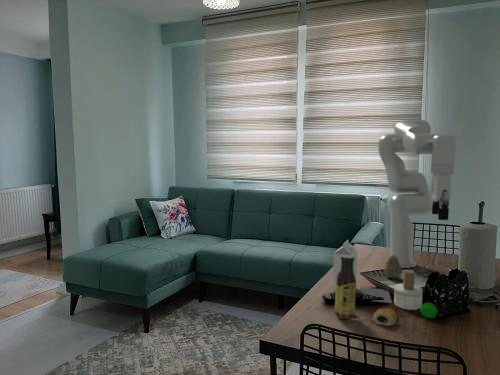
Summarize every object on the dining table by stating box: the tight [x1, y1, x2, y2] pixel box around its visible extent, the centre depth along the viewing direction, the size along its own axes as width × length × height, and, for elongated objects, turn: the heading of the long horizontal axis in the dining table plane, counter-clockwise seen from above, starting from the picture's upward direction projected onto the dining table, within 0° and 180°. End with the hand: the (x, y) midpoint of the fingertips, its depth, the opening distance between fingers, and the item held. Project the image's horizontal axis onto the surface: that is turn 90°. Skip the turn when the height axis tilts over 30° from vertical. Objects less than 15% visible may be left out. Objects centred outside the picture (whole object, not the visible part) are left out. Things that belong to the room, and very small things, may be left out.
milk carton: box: [332, 239, 358, 293], centre depth 150 cm, size 7×7×19 cm
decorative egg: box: [384, 255, 401, 280], centre depth 162 cm, size 6×6×10 cm
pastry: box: [371, 307, 398, 327], centre depth 128 cm, size 9×7×4 cm
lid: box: [393, 269, 424, 297], centre depth 137 cm, size 9×9×7 cm
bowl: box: [393, 291, 423, 311], centre depth 138 cm, size 8×8×5 cm
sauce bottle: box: [334, 255, 357, 320], centre depth 130 cm, size 6×6×20 cm
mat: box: [359, 287, 393, 304], centre depth 146 cm, size 12×10×1 cm
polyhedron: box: [419, 302, 438, 319], centre depth 129 cm, size 5×5×5 cm
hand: (439, 216), depth 147 cm, fingers open, 9 cm apart
